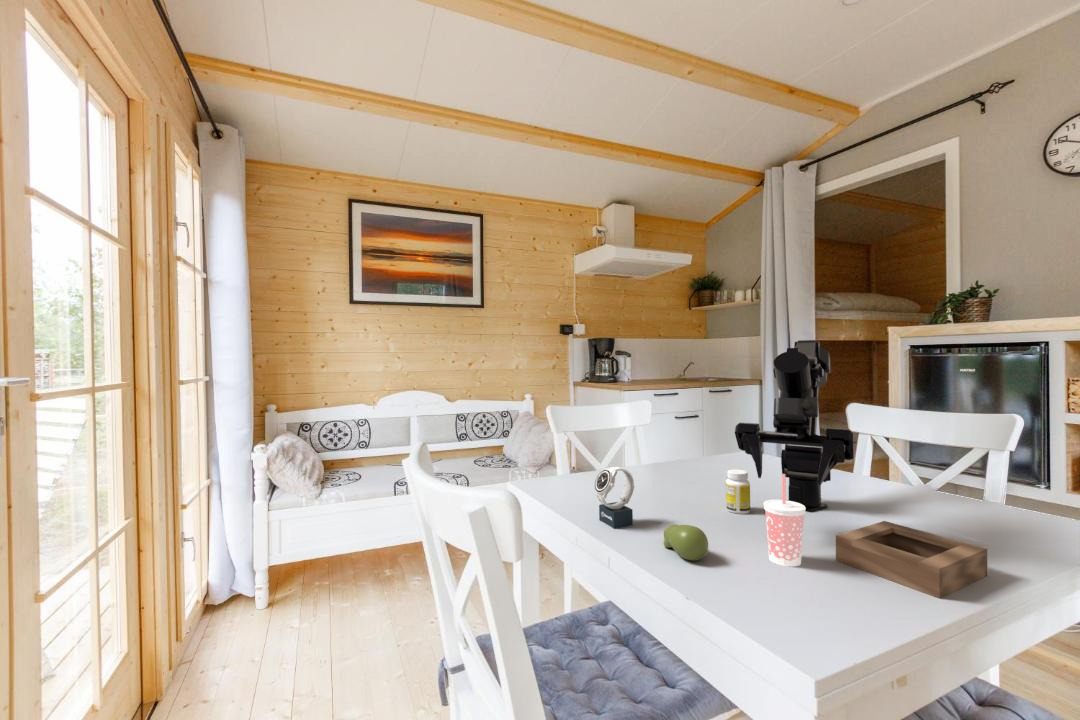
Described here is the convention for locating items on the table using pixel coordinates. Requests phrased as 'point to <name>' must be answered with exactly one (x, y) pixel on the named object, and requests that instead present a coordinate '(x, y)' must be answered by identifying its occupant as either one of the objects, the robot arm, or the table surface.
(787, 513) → the beverage cup
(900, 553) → the walnut box
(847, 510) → the table surface
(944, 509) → the table surface
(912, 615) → the table surface
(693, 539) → the pear
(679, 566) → the table surface
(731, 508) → the supplement bottle
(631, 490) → the watch
